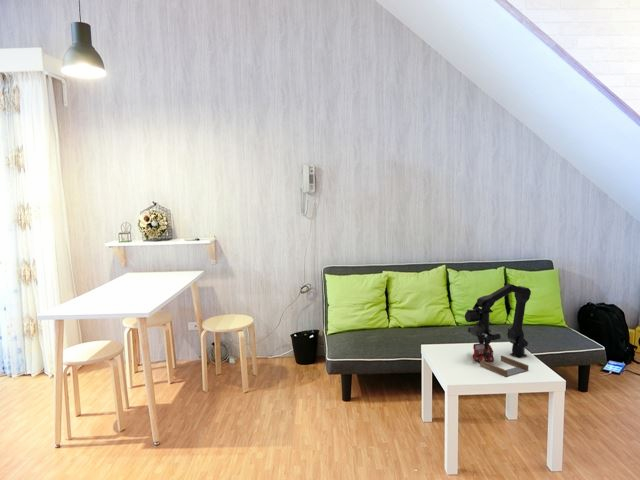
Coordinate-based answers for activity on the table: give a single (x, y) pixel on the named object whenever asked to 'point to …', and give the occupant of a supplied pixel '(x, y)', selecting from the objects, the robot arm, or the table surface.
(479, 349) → the toy fire truck
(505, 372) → the walnut channel
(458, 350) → the table surface
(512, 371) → the pad
